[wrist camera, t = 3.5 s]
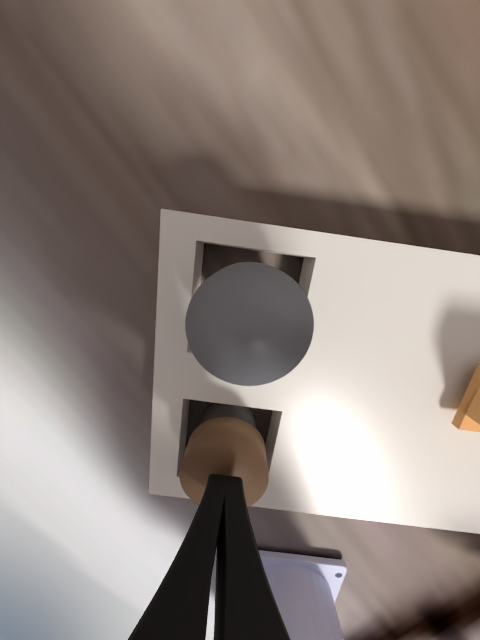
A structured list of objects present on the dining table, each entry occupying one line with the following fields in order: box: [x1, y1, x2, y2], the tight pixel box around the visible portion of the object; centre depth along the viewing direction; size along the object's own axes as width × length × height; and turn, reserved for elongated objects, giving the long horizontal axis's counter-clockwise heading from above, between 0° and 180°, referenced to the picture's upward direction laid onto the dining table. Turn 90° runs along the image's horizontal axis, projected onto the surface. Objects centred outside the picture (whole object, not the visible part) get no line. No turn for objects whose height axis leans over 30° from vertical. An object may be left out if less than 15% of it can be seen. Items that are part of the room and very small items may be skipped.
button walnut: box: [179, 403, 269, 507], centre depth 12 cm, size 4×4×4 cm
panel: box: [149, 209, 480, 534], centre depth 12 cm, size 15×20×2 cm
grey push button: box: [185, 262, 314, 386], centre depth 9 cm, size 4×4×4 cm
